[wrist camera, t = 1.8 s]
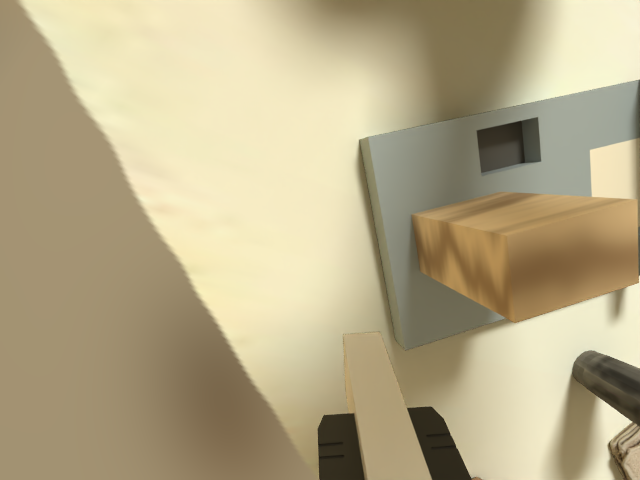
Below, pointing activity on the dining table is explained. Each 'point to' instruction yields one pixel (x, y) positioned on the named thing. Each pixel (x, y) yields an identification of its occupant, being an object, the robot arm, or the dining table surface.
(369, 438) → the robot arm
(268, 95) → the dining table surface
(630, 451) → the washcloth
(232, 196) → the dining table surface
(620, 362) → the beverage cup
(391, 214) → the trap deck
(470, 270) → the oak block
